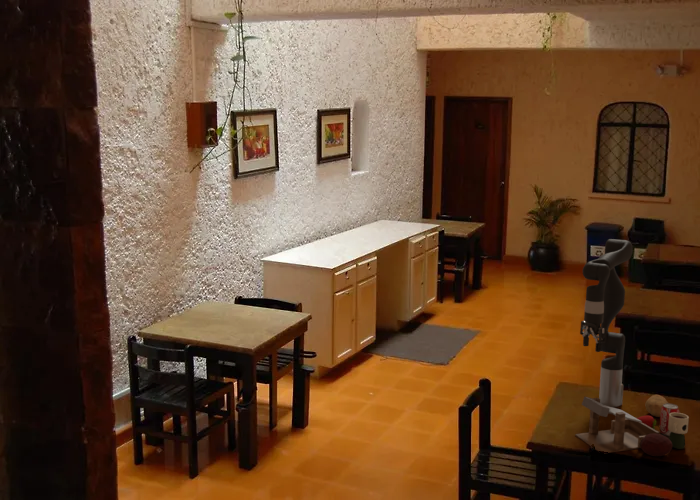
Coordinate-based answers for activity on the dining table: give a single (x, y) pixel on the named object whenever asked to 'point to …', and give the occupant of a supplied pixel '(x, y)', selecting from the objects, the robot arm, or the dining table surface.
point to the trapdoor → (604, 409)
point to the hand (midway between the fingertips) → (591, 348)
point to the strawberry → (648, 421)
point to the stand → (615, 433)
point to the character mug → (678, 429)
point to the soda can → (666, 417)
